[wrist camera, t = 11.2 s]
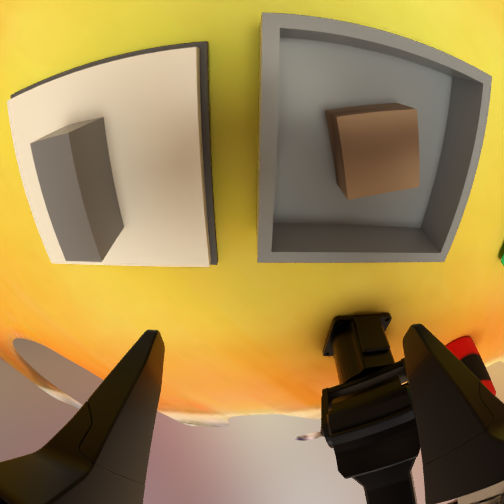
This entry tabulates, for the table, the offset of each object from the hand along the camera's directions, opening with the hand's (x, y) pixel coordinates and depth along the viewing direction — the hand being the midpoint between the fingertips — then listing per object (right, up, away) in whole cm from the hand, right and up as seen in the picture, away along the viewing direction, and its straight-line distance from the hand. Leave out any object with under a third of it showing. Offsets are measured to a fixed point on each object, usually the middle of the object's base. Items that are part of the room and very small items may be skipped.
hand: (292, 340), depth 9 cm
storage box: (+6, +10, +7) cm, 14 cm away
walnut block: (+6, +10, +7) cm, 13 cm away
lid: (-12, +9, +8) cm, 17 cm away
